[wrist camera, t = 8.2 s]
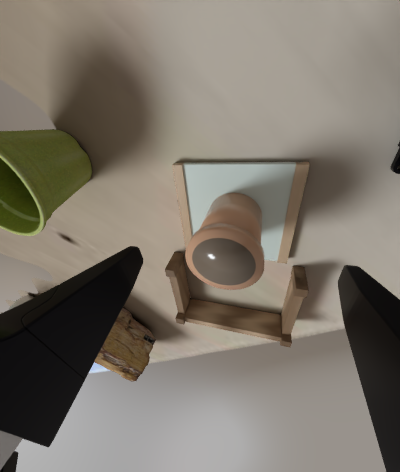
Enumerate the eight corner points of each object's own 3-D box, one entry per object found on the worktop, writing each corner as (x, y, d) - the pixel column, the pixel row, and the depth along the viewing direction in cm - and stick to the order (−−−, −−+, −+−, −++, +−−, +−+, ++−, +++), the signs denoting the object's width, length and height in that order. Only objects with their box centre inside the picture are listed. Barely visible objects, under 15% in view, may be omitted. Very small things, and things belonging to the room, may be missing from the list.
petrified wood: (167, 331, 42) (140, 387, 36) (145, 331, 52) (121, 375, 46) (83, 279, 37) (36, 334, 31) (77, 290, 47) (40, 333, 41)
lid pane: (308, 161, 17) (309, 164, 16) (286, 258, 23) (286, 263, 23) (175, 162, 20) (172, 165, 19) (188, 247, 26) (186, 251, 26)
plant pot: (102, 125, 20) (17, 148, 13) (109, 206, 26) (54, 249, 19) (18, 99, 20) (-104, 107, 14) (44, 183, 26) (-31, 217, 20)
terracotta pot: (268, 190, 18) (268, 235, 13) (262, 243, 22) (260, 295, 17) (203, 188, 20) (179, 228, 15) (207, 238, 24) (189, 284, 18)
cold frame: (304, 267, 23) (309, 295, 20) (287, 320, 30) (290, 347, 27) (174, 251, 28) (162, 273, 24) (185, 301, 34) (176, 322, 31)
